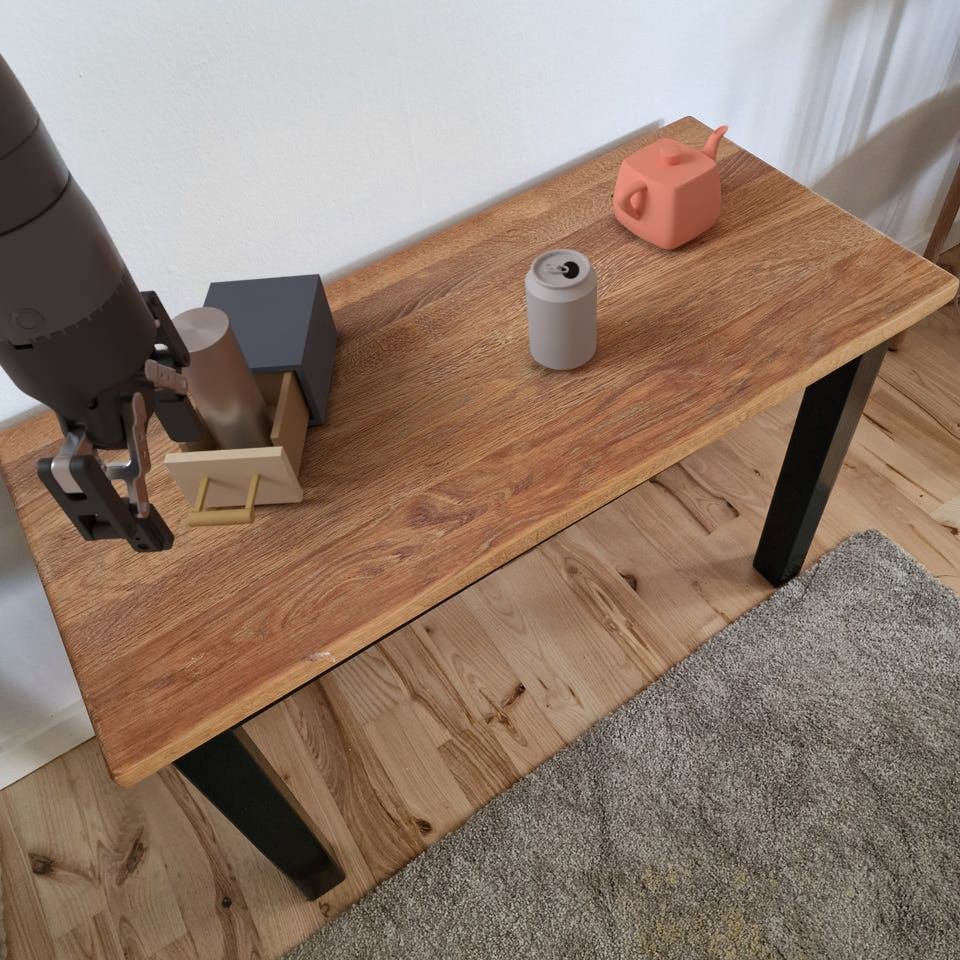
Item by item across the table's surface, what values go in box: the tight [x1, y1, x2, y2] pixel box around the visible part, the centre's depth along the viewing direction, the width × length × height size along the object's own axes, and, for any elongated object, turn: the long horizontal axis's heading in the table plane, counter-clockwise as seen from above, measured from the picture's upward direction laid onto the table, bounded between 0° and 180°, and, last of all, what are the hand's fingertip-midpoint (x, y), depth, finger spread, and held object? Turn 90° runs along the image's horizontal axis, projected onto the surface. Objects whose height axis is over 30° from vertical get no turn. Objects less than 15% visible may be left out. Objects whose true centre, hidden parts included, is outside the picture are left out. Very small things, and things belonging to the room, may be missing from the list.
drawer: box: [163, 370, 310, 528], centre depth 83 cm, size 19×11×7 cm, turn 0°
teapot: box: [612, 124, 729, 251], centre depth 103 cm, size 12×18×10 cm, turn 126°
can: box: [524, 248, 598, 371], centre depth 89 cm, size 8×8×12 cm
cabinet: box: [202, 273, 339, 427], centre depth 92 cm, size 15×13×9 cm
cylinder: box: [163, 306, 274, 450], centre depth 79 cm, size 6×6×17 cm
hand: (174, 489), depth 52 cm, fingers open, 8 cm apart
